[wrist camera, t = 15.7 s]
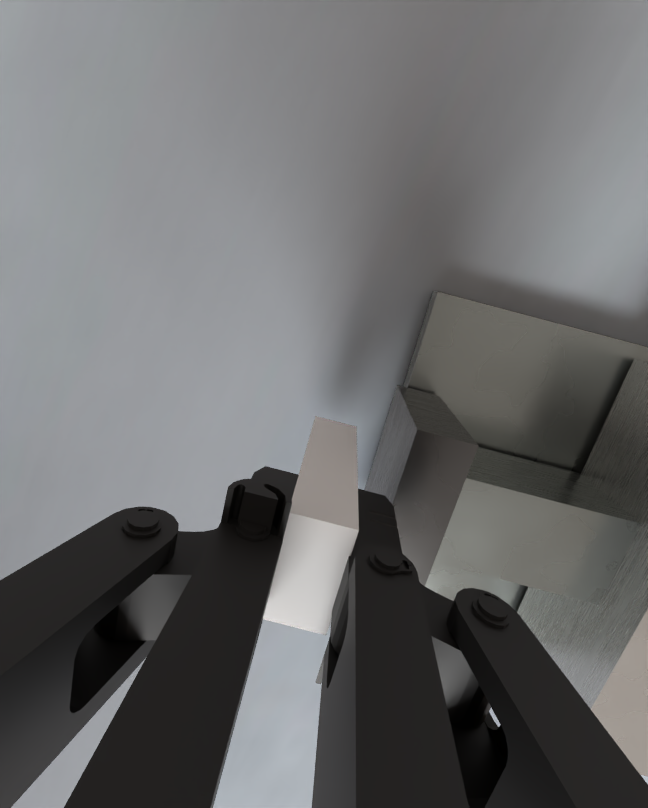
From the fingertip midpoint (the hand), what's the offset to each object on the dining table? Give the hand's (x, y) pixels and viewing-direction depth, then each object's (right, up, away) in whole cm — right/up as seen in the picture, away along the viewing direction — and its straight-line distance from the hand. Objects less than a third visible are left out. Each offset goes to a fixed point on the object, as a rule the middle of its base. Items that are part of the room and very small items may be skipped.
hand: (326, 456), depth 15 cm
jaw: (+7, -2, +1) cm, 8 cm away
